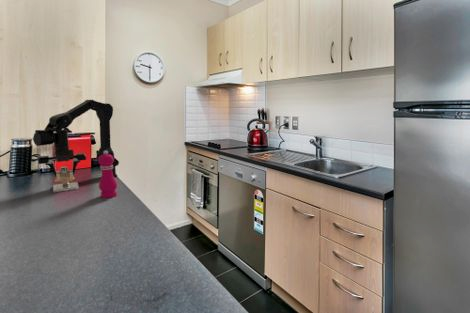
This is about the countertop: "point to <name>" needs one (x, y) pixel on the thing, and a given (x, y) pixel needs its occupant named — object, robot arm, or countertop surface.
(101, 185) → the pepper mill
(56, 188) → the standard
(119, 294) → the countertop surface
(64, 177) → the collar
